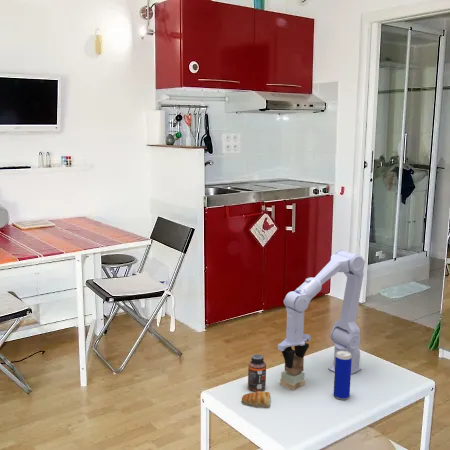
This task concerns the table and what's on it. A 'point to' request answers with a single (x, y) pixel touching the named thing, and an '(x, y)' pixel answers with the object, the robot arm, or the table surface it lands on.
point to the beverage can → (342, 375)
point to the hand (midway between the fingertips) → (293, 365)
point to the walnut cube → (296, 365)
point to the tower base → (291, 386)
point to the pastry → (257, 399)
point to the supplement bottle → (257, 373)
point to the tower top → (292, 377)
